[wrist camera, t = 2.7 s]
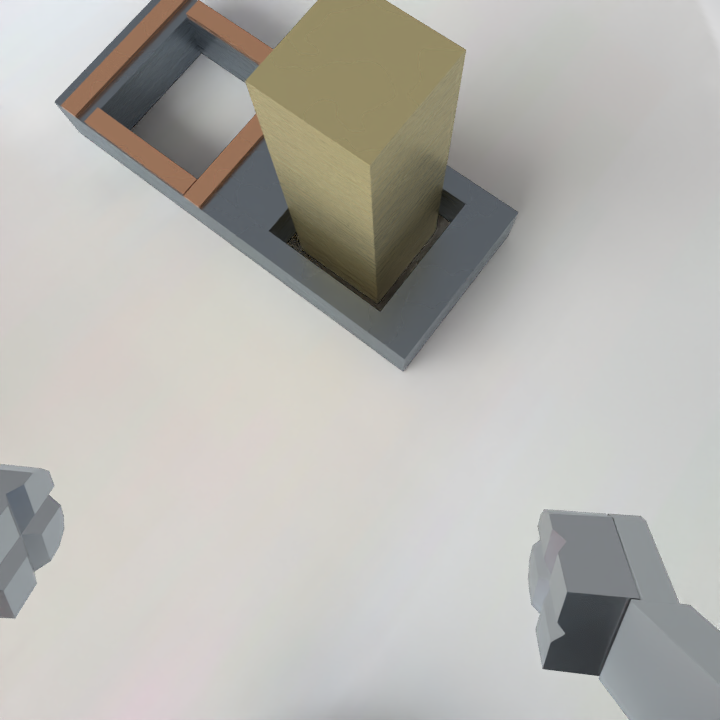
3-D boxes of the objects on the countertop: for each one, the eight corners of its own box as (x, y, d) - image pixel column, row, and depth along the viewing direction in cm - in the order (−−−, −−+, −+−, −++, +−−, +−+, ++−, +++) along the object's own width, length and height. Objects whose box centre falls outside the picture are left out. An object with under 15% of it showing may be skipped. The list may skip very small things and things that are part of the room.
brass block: (435, 231, 29) (466, 49, 18) (377, 304, 29) (369, 165, 17) (360, 180, 30) (342, -27, 18) (302, 249, 29) (245, 81, 18)
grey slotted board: (507, 235, 29) (519, 210, 27) (403, 371, 28) (404, 358, 25) (185, 19, 32) (167, -22, 30) (79, 131, 31) (52, 99, 29)
